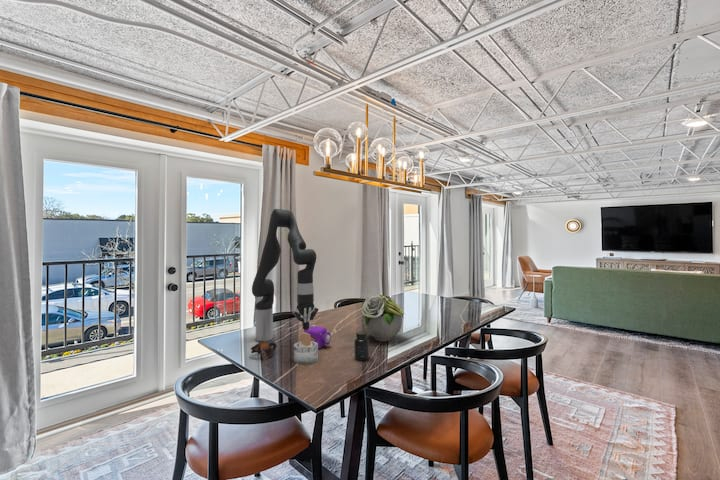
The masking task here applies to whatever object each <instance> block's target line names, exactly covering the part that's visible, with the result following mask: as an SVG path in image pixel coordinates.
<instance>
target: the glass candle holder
mask: <svg viewBox="0 0 720 480" xmlns="http://www.w3.org/2000/svg"><path fill="white" fill-rule="evenodd" d="M300 343H301V341H297V342H296V343H293V361H294V363H296V364H299V365H309V364H313V363H317V361H318V360H319V349H318V343H317V342H314V341H311V343H312V344H313V346H311V347H299V344H300Z"/></svg>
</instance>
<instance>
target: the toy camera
mask: <svg viewBox="0 0 720 480" xmlns="http://www.w3.org/2000/svg"><path fill="white" fill-rule="evenodd" d="M304 332H306V333H309V334H311V341H314V342H317V343H318V350H319V349H321V348H322V347H324V346H329V344H330V343H331V341H332V336H331V332H327V328H326V327H324V326H316V325H314V324H312V325H311V326H309V329H308V330H304V329H303V333H304Z"/></svg>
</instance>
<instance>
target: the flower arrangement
mask: <svg viewBox="0 0 720 480" xmlns="http://www.w3.org/2000/svg"><path fill="white" fill-rule="evenodd" d="M403 311H404V310H403V308H401V307H400V306H399V305H398V304H397V303H396V300H395V298H393V299H392V297H390V296H387V295H382V294H380V295H372V296H369V297H367V298H366V299H365V300H364V303H363V304H362V307H361V308H360V312H361V314H362V315H363V320H362V321H363V327H364V329H365V332H366V333H367V334H369V335H370V336H372V337H374V339H375V341H377V342H378V341H379V342H388V341H390V340H391V339H392V338H393V337H394V336H396V335H397V334H399V332H401V328H402V326H403V318H404V315H405V312H403Z"/></svg>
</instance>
